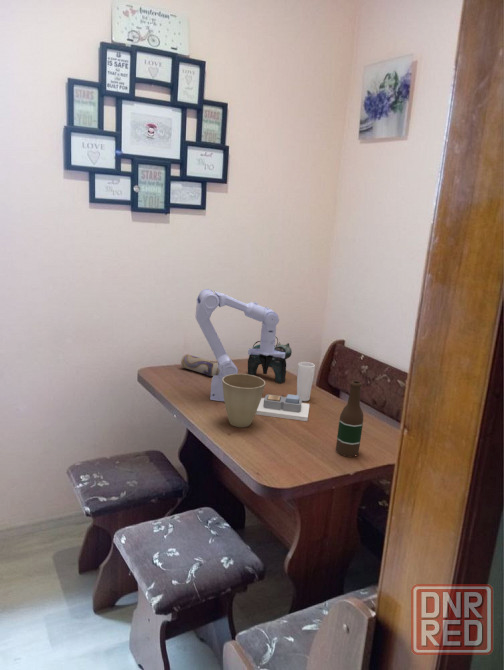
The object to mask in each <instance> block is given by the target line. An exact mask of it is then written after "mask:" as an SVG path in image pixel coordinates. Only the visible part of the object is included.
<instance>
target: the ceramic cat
mask: <svg viewBox="0 0 504 670" xmlns="http://www.w3.org/2000/svg"><path fill="white" fill-rule="evenodd" d="M275 339H276V340H277V343H276V344H275V348H274V350H275V351H280V352H285V358H281V357H273V359H272V361H271V363H270V365H269V367H268V368H271V369H272V370H273V372H274V377H275V378H274V383H278V384H283V383H285V381H286V375H287V359H289V358H290V357H291V356H292V353H293V352H292V348H291V346H290V343H289V342H288V343H286V344H282V343H281V342H279V339H278V337H277V336H275ZM260 341H261V340H257V341H256V342H254V343H253V346H252V347H251V349H260ZM257 343H259V344H257ZM256 344H257V345H256ZM259 356H260V355H255V354H248V359H247V374H248V375H253V376H256V375H257V372H258V368H259V366H260V365H262V364H261V362H260V359H259Z"/></svg>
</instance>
